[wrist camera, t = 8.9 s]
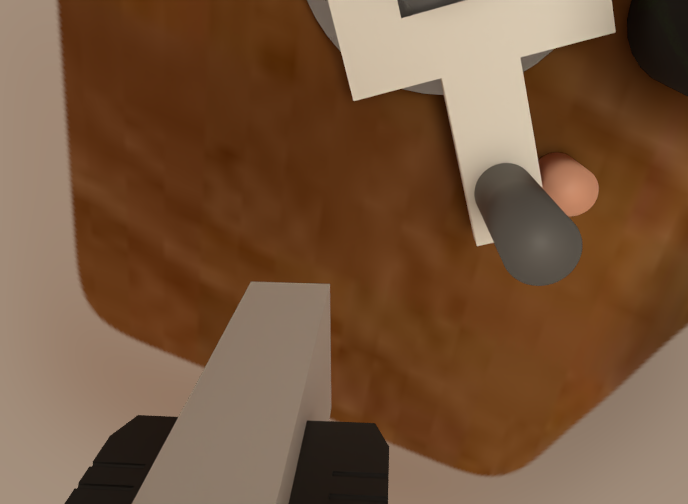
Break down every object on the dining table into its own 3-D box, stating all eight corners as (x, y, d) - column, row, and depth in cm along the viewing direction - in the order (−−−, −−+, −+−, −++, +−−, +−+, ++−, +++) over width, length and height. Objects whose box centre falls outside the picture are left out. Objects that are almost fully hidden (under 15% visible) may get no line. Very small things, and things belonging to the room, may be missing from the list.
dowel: (521, 174, 28) (535, 191, 26) (558, 142, 28) (576, 155, 25) (551, 206, 29) (568, 226, 26) (587, 175, 28) (609, 192, 25)
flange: (286, -176, 24) (233, -272, 16) (566, -269, 22) (658, -426, 14) (394, 254, 29) (395, 339, 21) (628, 202, 27) (720, 273, 20)
